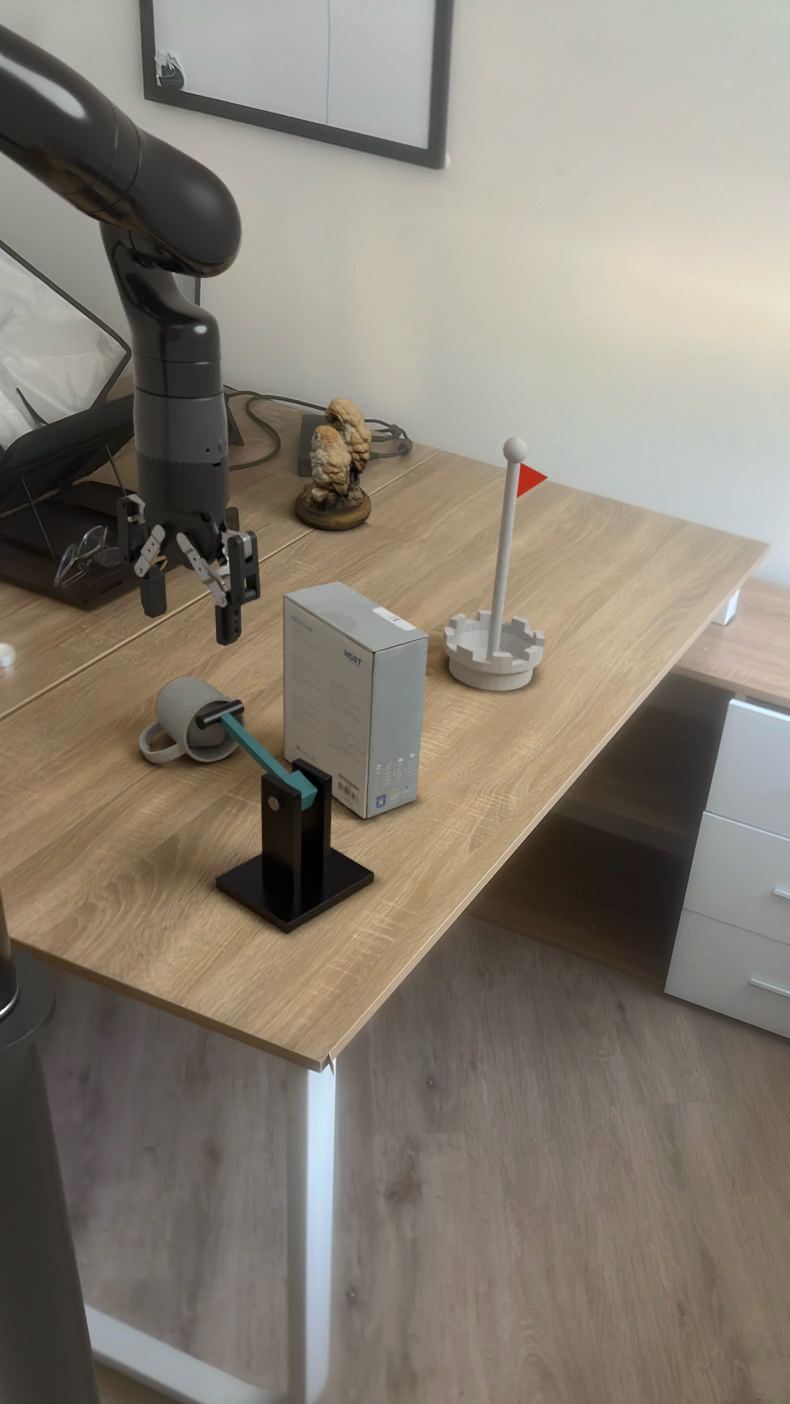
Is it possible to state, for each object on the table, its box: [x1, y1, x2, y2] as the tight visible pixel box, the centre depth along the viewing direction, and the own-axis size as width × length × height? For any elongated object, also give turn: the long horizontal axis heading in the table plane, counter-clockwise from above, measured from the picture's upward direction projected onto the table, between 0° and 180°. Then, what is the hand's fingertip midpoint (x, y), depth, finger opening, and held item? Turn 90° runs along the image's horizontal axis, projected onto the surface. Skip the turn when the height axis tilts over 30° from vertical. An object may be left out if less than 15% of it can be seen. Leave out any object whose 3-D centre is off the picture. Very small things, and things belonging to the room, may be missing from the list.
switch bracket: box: [215, 758, 375, 934], centre depth 123 cm, size 10×12×13 cm
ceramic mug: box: [138, 675, 246, 764], centre depth 141 cm, size 11×8×8 cm
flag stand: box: [442, 436, 549, 692], centre depth 158 cm, size 13×13×30 cm
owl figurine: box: [294, 397, 373, 532], centre depth 196 cm, size 18×12×17 cm, turn 0°
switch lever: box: [195, 698, 318, 810], centre depth 121 cm, size 13×5×2 cm, turn 54°
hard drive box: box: [282, 580, 430, 819], centre depth 137 cm, size 16×8×20 cm, turn 44°
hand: (191, 628), depth 116 cm, fingers open, 8 cm apart
